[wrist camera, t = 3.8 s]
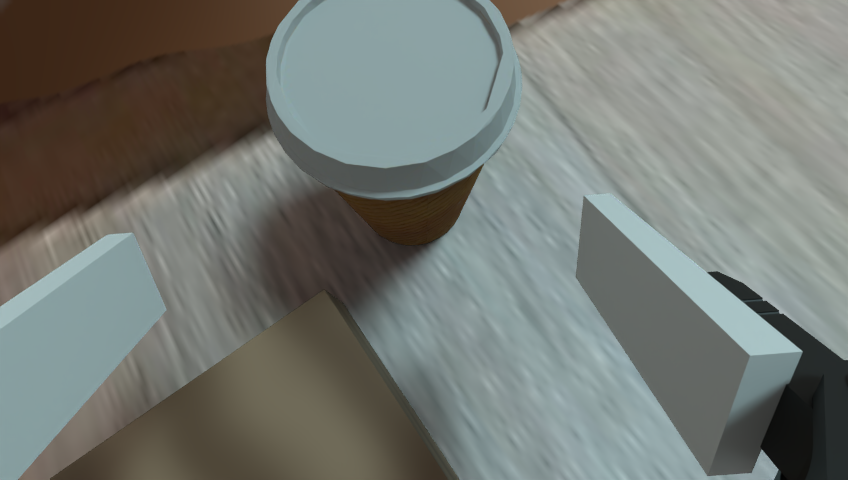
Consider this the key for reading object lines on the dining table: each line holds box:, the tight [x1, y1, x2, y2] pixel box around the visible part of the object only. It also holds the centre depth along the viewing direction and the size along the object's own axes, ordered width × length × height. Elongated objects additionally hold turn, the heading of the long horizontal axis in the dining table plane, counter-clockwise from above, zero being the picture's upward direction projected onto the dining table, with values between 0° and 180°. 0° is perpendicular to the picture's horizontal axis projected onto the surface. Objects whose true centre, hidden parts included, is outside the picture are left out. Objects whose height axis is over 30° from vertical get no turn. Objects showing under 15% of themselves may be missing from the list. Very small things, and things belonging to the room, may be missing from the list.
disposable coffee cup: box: [266, 0, 522, 245], centre depth 20 cm, size 10×10×12 cm
